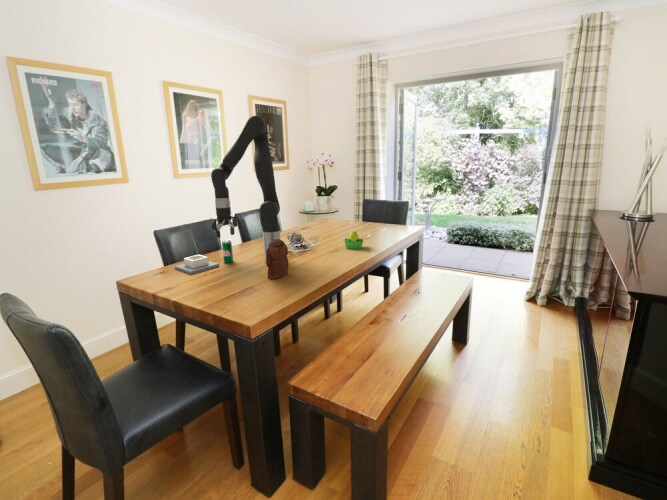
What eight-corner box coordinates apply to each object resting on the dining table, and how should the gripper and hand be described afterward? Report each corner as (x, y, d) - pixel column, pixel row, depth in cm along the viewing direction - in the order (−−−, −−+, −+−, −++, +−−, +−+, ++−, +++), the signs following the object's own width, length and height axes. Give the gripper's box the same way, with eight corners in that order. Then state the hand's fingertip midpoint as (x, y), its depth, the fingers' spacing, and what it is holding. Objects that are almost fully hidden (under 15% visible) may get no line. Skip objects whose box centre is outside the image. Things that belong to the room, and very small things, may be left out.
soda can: (222, 263, 192) (219, 241, 188) (226, 260, 196) (224, 239, 193) (230, 263, 191) (228, 242, 188) (234, 260, 195) (232, 239, 192)
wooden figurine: (280, 271, 176) (277, 236, 171) (290, 273, 172) (288, 237, 168) (264, 278, 166) (261, 241, 161) (275, 280, 163) (272, 243, 158)
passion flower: (299, 256, 220) (292, 244, 212) (288, 250, 227) (281, 238, 219) (311, 244, 224) (304, 231, 216) (300, 238, 231) (293, 226, 222)
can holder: (219, 266, 186) (218, 256, 184) (191, 274, 174) (189, 263, 172) (202, 261, 195) (201, 251, 194) (174, 268, 183) (173, 258, 182)
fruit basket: (363, 246, 220) (363, 228, 217) (363, 250, 211) (363, 231, 208) (345, 246, 221) (344, 228, 218) (344, 250, 212) (344, 231, 210)
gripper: (215, 208, 178) (218, 239, 182) (238, 205, 189) (240, 234, 193) (207, 207, 182) (210, 237, 187) (230, 204, 193) (232, 233, 197)
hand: (225, 236), depth 190 cm, fingers open, 8 cm apart
